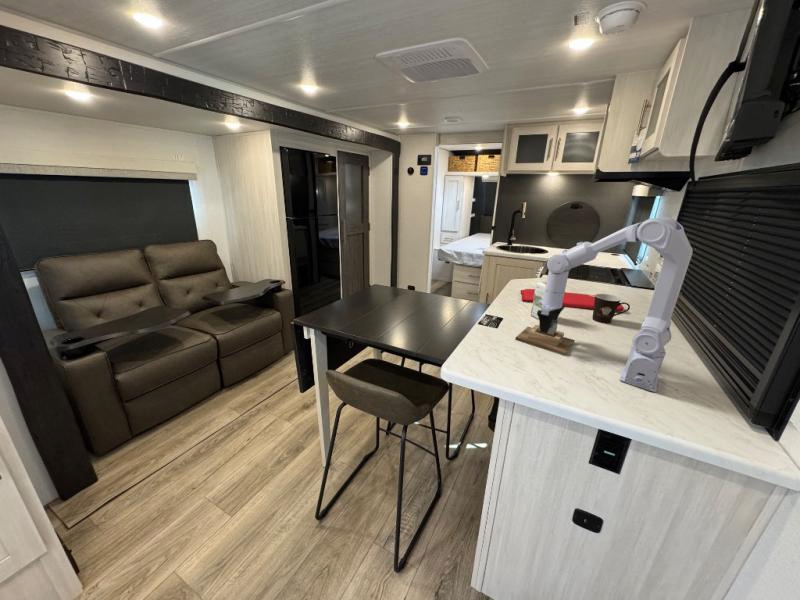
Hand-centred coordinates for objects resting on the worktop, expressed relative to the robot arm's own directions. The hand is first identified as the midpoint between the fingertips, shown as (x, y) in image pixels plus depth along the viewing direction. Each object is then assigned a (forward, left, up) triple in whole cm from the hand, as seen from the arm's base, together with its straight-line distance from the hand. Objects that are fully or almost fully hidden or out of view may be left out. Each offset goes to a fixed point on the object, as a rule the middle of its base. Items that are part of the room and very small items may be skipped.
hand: (547, 328), depth 105 cm
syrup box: (+21, +8, -5) cm, 23 cm away
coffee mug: (+35, -13, -5) cm, 38 cm away
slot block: (0, 0, -5) cm, 5 cm away
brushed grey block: (0, 0, -4) cm, 4 cm away
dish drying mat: (+49, +5, -6) cm, 50 cm away
